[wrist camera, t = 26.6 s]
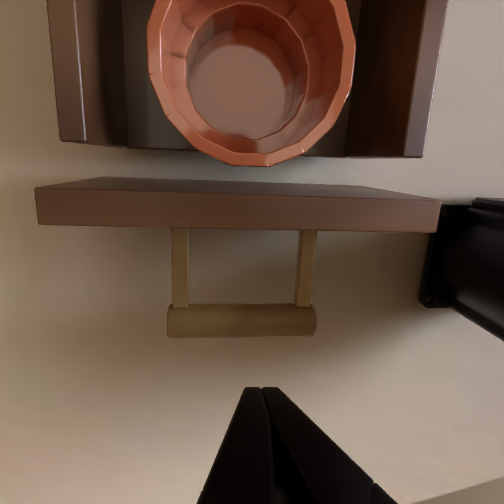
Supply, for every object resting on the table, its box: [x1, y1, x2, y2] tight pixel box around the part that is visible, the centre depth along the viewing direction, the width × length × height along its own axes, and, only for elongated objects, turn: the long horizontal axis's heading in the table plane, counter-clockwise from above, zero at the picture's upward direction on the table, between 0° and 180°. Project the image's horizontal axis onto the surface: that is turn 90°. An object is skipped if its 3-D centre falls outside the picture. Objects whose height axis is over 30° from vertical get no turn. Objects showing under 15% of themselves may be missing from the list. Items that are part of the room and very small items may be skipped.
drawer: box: [34, 0, 449, 339], centre depth 14 cm, size 20×14×7 cm
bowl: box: [146, 0, 356, 167], centre depth 13 cm, size 7×7×5 cm
